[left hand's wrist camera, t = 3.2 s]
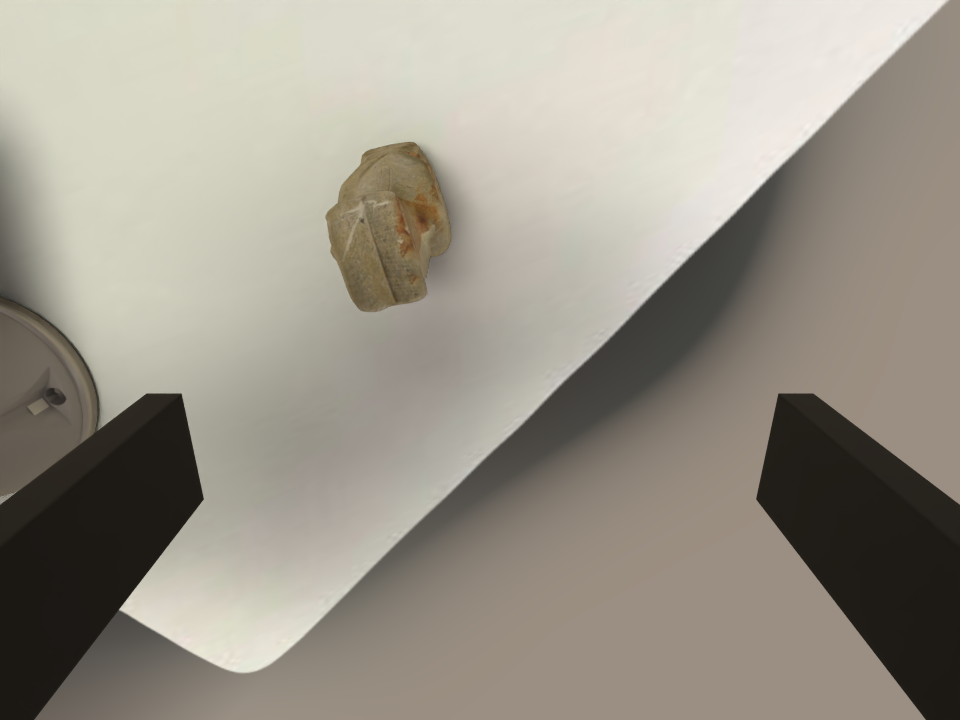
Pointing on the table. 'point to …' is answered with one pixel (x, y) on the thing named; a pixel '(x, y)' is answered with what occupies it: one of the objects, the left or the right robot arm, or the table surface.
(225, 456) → the table surface
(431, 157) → the table surface
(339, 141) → the table surface
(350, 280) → the sculpture
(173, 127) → the table surface
